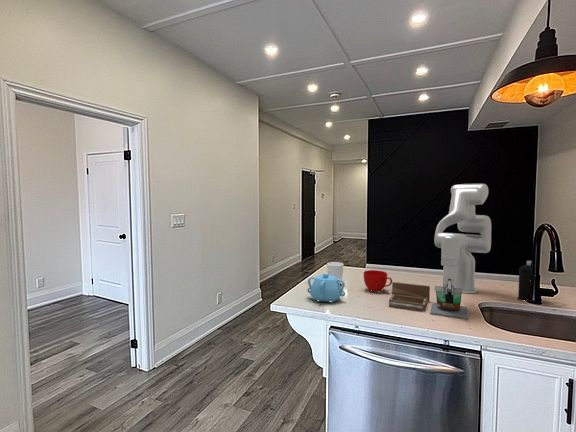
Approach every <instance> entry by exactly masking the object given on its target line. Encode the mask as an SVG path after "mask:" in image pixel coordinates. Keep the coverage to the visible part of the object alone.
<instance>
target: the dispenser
mask: <svg viewBox="0 0 576 432" xmlns="http://www.w3.org/2000/svg"><path fill="white" fill-rule="evenodd" d="M430 292H431V286H430V285H422V284H416V283H406V282H405V283H404V282H398V281H397V282H396V281H392V284H391V297H390V298H389V299H388V307H391V306H392V308H399V309H406V310H413V311H420V312H426V308H427V305H428V303H430V301H431V300H430V298H431V297H430V296H431V295H430V294H431V293H430Z"/></svg>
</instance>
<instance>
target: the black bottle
mask: <svg viewBox="0 0 576 432" xmlns="http://www.w3.org/2000/svg"><path fill="white" fill-rule="evenodd" d="M531 265H532V260H526V264H525V265H521V266H520V267H519V268H518V273H519V274H518V293H517V294H518V297H517V299H518V300H519V299H521V300H525V301H526V300H527V298H528V295H529V292H530V287H531V285H532V283H531V282H530V280H531ZM521 300H520V301H521Z"/></svg>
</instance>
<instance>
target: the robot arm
mask: <svg viewBox="0 0 576 432" xmlns="http://www.w3.org/2000/svg"><path fill="white" fill-rule="evenodd" d="M450 194H451V197H450V198H451V199H450V204H449V208H448V209H449V211H448V214H446V215H445V216H444V217H442V219H441V220H440V221H439V222H438V224H437V225H436V228H435V233H434V238H433V239H434V245H435V247H437V248H439V249H441V252H440V253H441V254H440V255H441V257H440V259H441V260H440V265H441V266H443V269H442V287H443V288H444V287H446V294H445V302H446V303H451V304H453V289H454V288H462V289H463V293H462V294H476V293H478V291H479V290H478V288H476V287H475V283H476V282H475V279H476V278H475V276H476V259H475V257H474V256H473V255H472V253H480V254H482V253H483V254H487V253H489V252H490V251H491V247H492V220H491V218H490V216H488V215H485V214H482V215H481V214H476V206H479V205H483V204H484V203H485V201H486V200H487V199H488V196H489V187H488V185H487V184H486V183H461V184H459V183H458V184H454V185H452V186H451V188H450ZM455 224H457V229H458V231H459V232H464V233H465V234H464V233H456V232H455V233H454V232H444V231H445V230H446V228H448V227H450V226H452V225H455ZM467 233H468V234H467ZM469 233H475V234H469ZM476 233H478V234H476ZM447 289H448V290H447ZM451 289H452V290H451ZM451 292H452V293H451Z"/></svg>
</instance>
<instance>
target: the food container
mask: <svg viewBox="0 0 576 432" xmlns="http://www.w3.org/2000/svg"><path fill="white" fill-rule="evenodd" d="M433 290H434V291H435V296H436V297H435V298H436V303H437V307H438V308H441V309H447V310H460V306H461V301H462V294H464V293H463V289H462V288H454V289H453V304H451V303H446V302H445V294H446V287H444V288H443V286H441V285H440V286H439V285H434V289H433ZM447 290H448V289H447ZM451 290H452V289H451ZM451 293H452V292H451Z"/></svg>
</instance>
